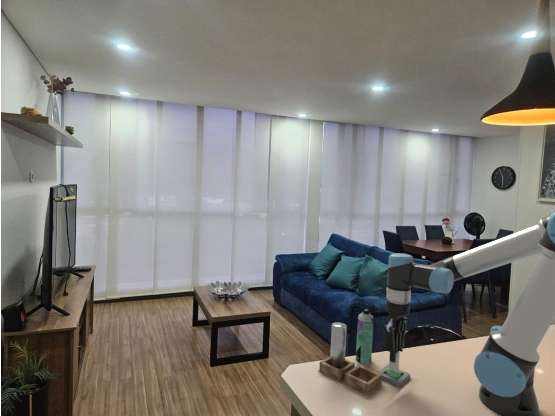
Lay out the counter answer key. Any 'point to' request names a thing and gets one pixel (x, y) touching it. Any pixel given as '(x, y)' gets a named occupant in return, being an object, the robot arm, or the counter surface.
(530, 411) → the robot arm
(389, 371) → the button
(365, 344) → the spray can
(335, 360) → the seated billet
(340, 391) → the counter surface
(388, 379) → the gray square frame
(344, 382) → the wooden double crate
